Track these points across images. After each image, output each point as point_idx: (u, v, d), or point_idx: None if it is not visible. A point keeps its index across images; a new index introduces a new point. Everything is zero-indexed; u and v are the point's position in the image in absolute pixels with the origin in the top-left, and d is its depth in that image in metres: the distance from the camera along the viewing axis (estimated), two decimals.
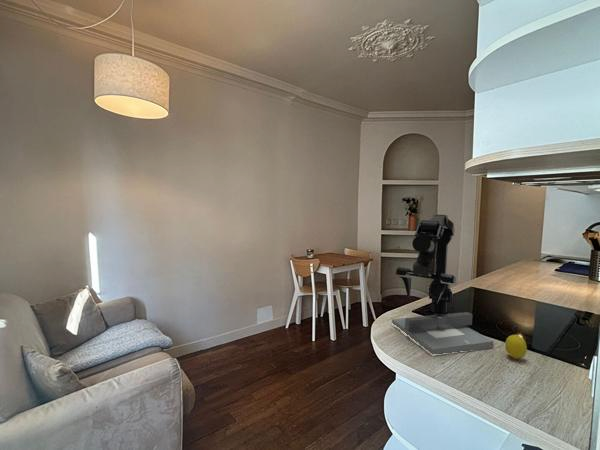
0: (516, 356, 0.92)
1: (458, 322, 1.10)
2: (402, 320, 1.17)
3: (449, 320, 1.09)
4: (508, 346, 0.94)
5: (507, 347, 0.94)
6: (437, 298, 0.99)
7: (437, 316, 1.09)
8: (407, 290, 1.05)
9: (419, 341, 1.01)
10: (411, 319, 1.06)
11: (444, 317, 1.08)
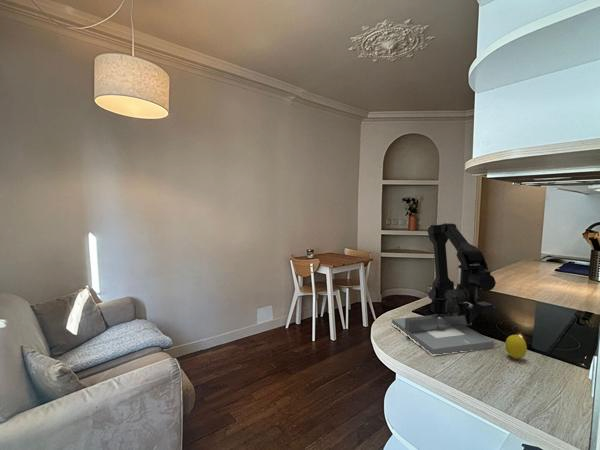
0: (516, 356, 0.92)
1: (458, 322, 1.10)
2: (402, 320, 1.17)
3: (449, 320, 1.09)
4: (508, 346, 0.93)
5: (507, 347, 0.94)
6: (467, 320, 1.10)
7: (437, 316, 1.09)
8: None
9: (419, 341, 1.01)
10: (411, 319, 1.06)
11: (444, 317, 1.08)
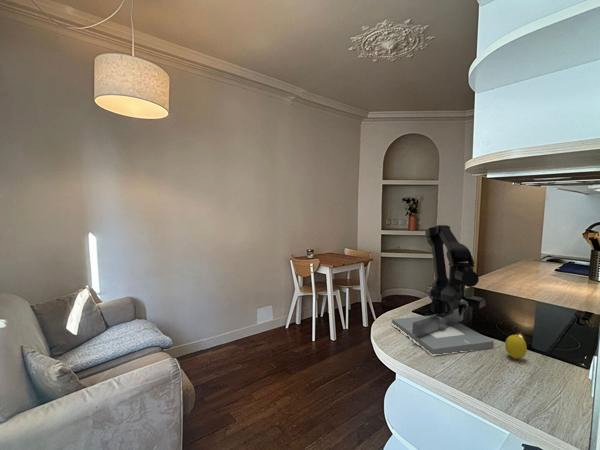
0: (516, 356, 0.92)
1: (454, 320, 1.12)
2: (402, 320, 1.17)
3: (448, 319, 1.10)
4: (508, 346, 0.93)
5: (507, 347, 0.94)
6: None
7: (438, 316, 1.08)
8: None
9: (419, 341, 1.01)
10: (419, 323, 1.02)
11: (444, 317, 1.08)
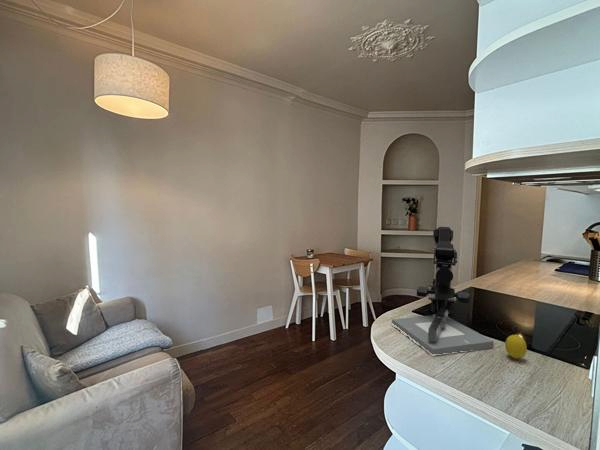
0: (516, 356, 0.92)
1: (445, 317, 1.15)
2: (402, 320, 1.17)
3: None
4: (508, 346, 0.93)
5: (507, 347, 0.94)
6: None
7: (439, 317, 1.08)
8: (436, 309, 1.19)
9: (419, 341, 1.01)
10: (434, 328, 0.99)
11: (444, 316, 1.09)
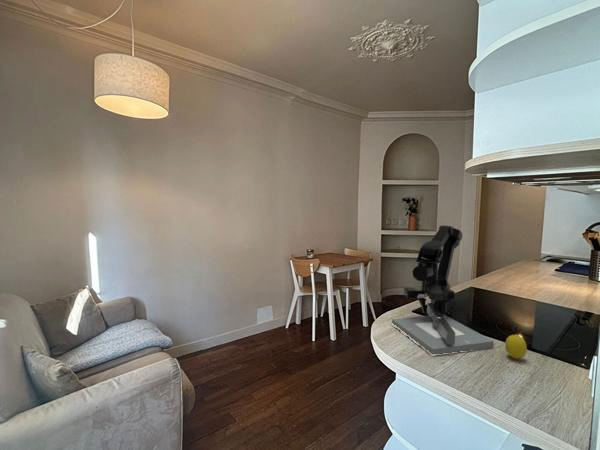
0: (516, 356, 0.92)
1: None
2: (402, 320, 1.17)
3: None
4: (508, 346, 0.93)
5: (507, 347, 0.94)
6: None
7: (440, 317, 1.08)
8: (424, 308, 1.20)
9: (419, 341, 1.01)
10: (450, 330, 0.97)
11: (442, 315, 1.10)
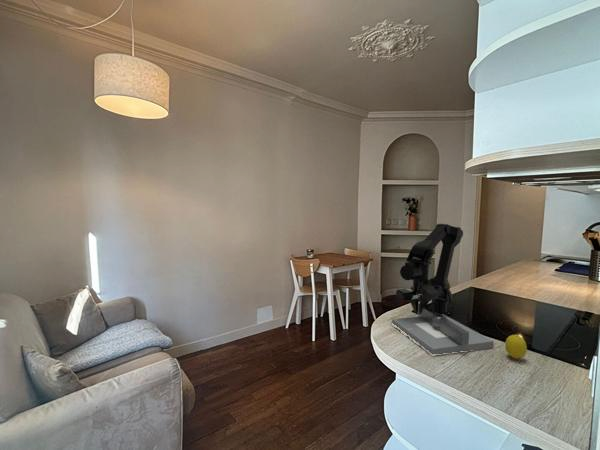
0: (516, 356, 0.92)
1: None
2: (402, 320, 1.17)
3: None
4: (508, 346, 0.93)
5: (507, 347, 0.94)
6: None
7: (441, 317, 1.08)
8: (417, 309, 1.19)
9: (419, 341, 1.01)
10: (463, 330, 0.97)
11: (441, 315, 1.10)
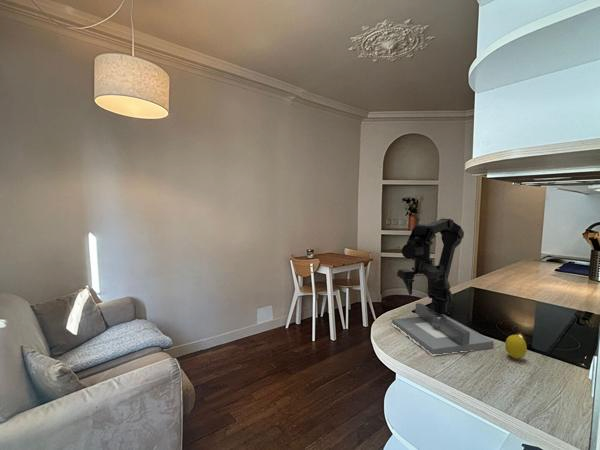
0: (516, 356, 0.92)
1: None
2: (402, 320, 1.17)
3: None
4: (508, 346, 0.93)
5: (507, 347, 0.94)
6: (432, 290, 1.20)
7: (441, 317, 1.08)
8: (411, 289, 1.18)
9: (419, 341, 1.01)
10: (464, 330, 0.97)
11: (441, 315, 1.10)
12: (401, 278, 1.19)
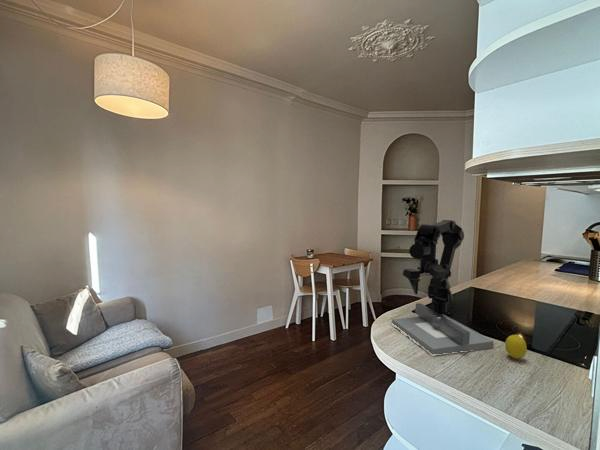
0: (516, 356, 0.92)
1: None
2: (402, 320, 1.17)
3: None
4: (508, 346, 0.93)
5: (507, 347, 0.94)
6: (437, 289, 1.21)
7: (441, 317, 1.08)
8: (416, 289, 1.18)
9: (419, 341, 1.01)
10: (464, 330, 0.97)
11: (441, 315, 1.10)
12: (407, 277, 1.20)
